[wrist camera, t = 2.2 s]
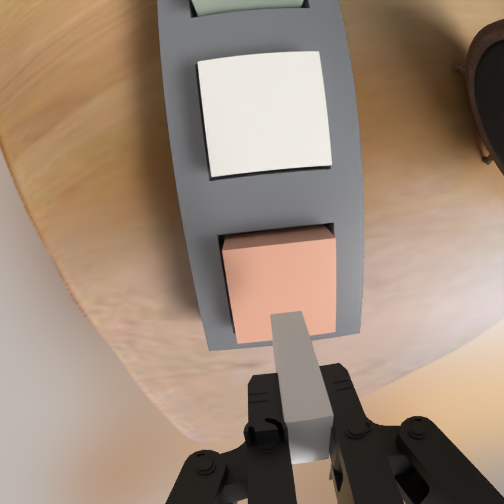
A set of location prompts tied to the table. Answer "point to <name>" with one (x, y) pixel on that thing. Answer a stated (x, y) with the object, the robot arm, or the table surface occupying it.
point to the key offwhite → (264, 112)
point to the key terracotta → (281, 279)
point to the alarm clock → (487, 88)
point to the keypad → (271, 181)
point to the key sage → (241, 5)
